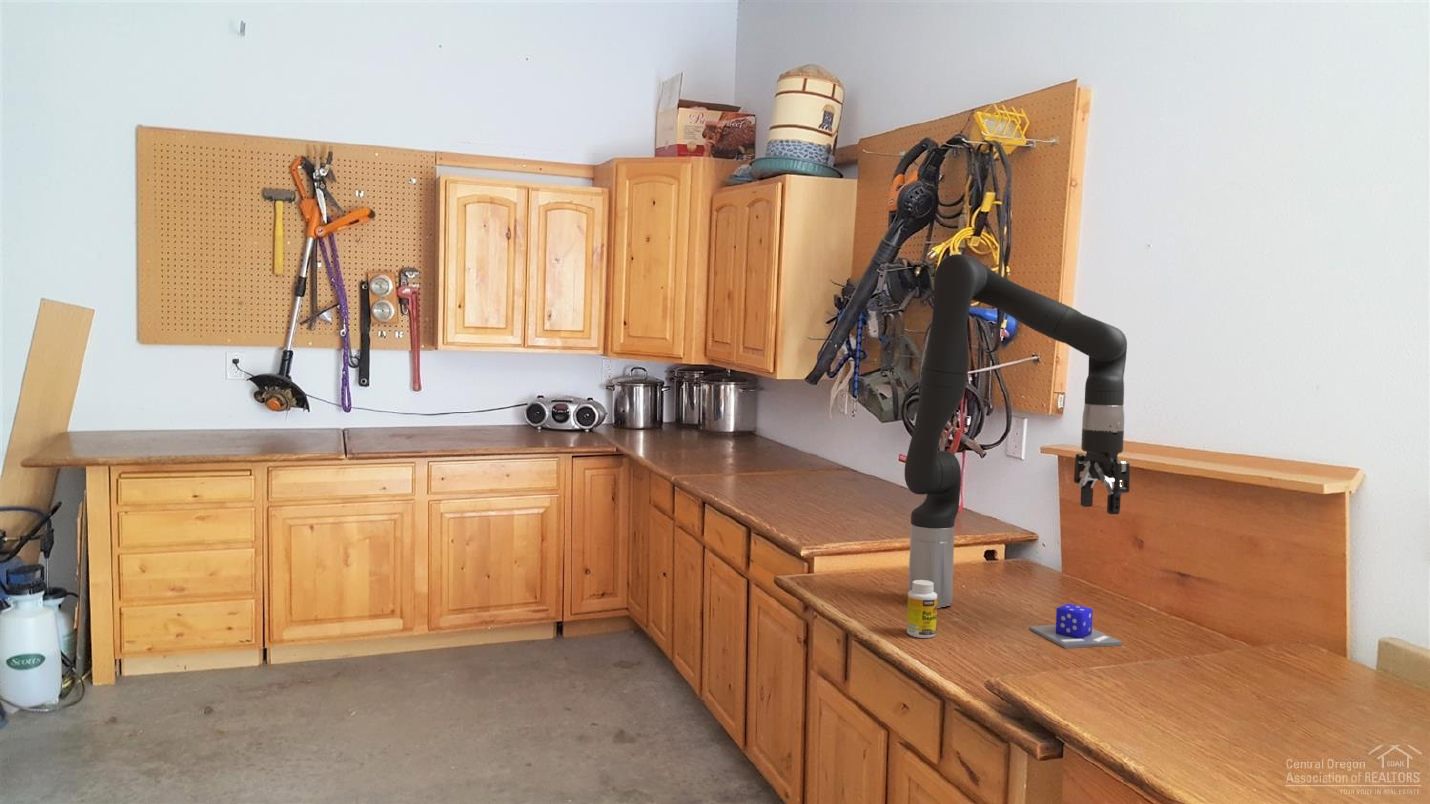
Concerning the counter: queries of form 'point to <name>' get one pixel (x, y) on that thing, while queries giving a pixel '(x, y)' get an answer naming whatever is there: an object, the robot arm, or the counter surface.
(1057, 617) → the die
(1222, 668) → the counter surface
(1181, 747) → the counter surface
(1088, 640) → the tile
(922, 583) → the supplement bottle
